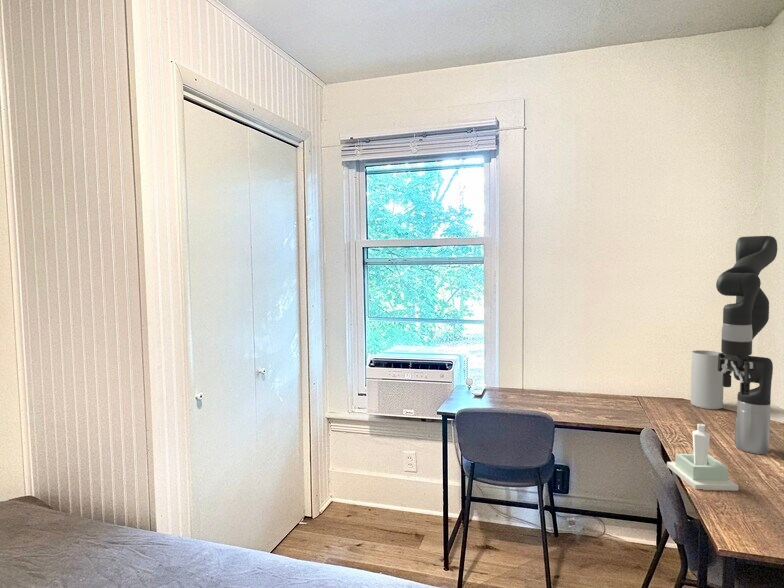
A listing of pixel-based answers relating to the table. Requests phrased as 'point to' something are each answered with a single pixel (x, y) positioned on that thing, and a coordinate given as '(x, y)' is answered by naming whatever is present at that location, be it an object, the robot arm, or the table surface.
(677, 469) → the stand
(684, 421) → the table surface
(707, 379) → the cylinder vase
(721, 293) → the robot arm
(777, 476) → the table surface
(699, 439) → the perfume bottle
